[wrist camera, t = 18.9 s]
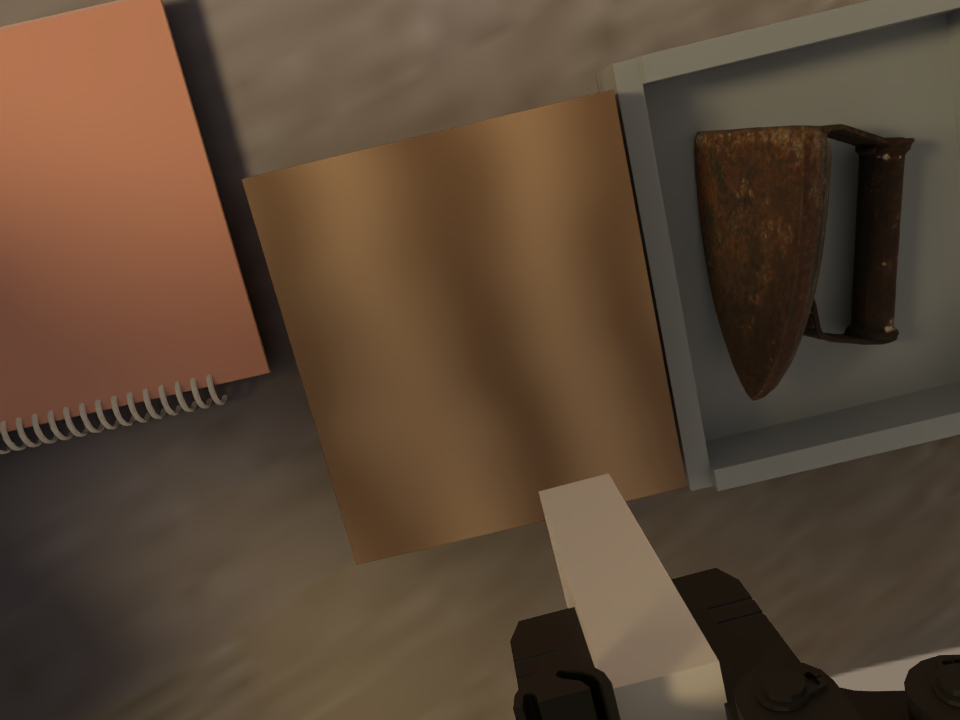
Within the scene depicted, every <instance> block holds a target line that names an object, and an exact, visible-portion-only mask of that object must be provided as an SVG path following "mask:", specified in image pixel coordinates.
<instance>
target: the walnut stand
mask: <svg viewBox="0 0 960 720" xmlns="http://www.w3.org/2000/svg"><path fill="white" fill-rule="evenodd" d="M242 182H243V186H244V189H245V192H246V196H247V199H248V202H249V206H250V209H251V213H252V216H253V219H254V223H255V226H256V229H257V233H258V236H259V239H260V243H261V246H262V249H263V253H264V256H265V260H266V263H267V266H268V270H269V273H270V276H271V280H272V283H273V286H274V290H275V293H276V296H277V300H278V303H279V306H280V310H281V313H282V317H283V320H284V323H285V327H286V330H287V333H288V337H289V340H290V343H291V347H292V350H293V353H294V357H295V360H296V363H297V367H298V370H299V374H300V377H301V380H302V384H303V387H304V390H305V394H306V397H307V400H308V404H309V407H310V410H311V414H312V417H313V420H314V424H315V427H316V431H317V434H318V437H319V441H320V444H321V447H322V451H323V454H324V457H325V461H326V464H327V467H328V471H329V474H330V478H331V481H332V484H333V488H334V491H335V494H336V498H337V501H338V504H339V508H340V511H341V514H342V518H343V521H344V524H345V528H346V531H347V535H348V538H349V541H350V545H351V548H352V551H353V555H354V558H355V561H356V565H358V564H363V563H367V562H371V561H375V560H380V559H384V558H388V557H392V556H396V555H401V554H405V553H409V552H413V551H418V550H422V549H426V548H430V547H435V546H439V545H443V544H447V543H452V542H456V541H460V540H464V539H468V538H473V537H477V536H481V535H485V534H490V533H494V532H498V531H502V530H507V529H511V528H515V527H519V526H524V525H528V524H532V523H536V522H540V521H545V516H544V512H543V508H542V504H541V500H540V496H539V491H542V490H546V489H550V488H554V487H558V486H562V485H566V484H569V483H573V482H577V481H581V480H585V479H589V478H593V477H596V476H600V475H604V474H608V473H609V475H610V477H611V478H612V480H613V482H614V483H615V485H616V487H617V488H618V490H619V492H620V494H621V495H622V497H623V499H624V500H625V501H629V500H634V499H638V498H642V497H646V496H651V495H655V494H659V493H663V492H668V491H672V490H676V489H680V488H684V487H687V485H686V480H685V474H684V469H683V464H682V458H681V453H680V447H679V442H678V436H677V431H676V426H675V420H674V415H673V409H672V404H671V398H670V393H669V388H668V382H667V377H666V371H665V366H664V360H663V355H662V350H661V344H660V339H659V333H658V328H657V322H656V317H655V312H654V306H653V301H652V295H651V290H650V285H649V279H648V274H647V268H646V263H645V257H644V252H643V247H642V241H641V236H640V230H639V225H638V219H637V214H636V209H635V203H634V198H633V192H632V187H631V181H630V176H629V171H628V165H627V160H626V154H625V149H624V143H623V138H622V133H621V127H620V122H619V116H618V111H617V106H616V100H615V95H614V89H613V90H609V91H605V92H600V93H596V94H592V95H588V96H584V97H580V98H576V99H571V100H567V101H563V102H559V103H555V104H551V105H547V106H542V107H538V108H534V109H530V110H526V111H522V112H518V113H513V114H509V115H505V116H501V117H497V118H493V119H489V120H484V121H480V122H476V123H472V124H468V125H464V126H460V127H455V128H451V129H447V130H443V131H439V132H435V133H431V134H426V135H422V136H418V137H414V138H410V139H406V140H402V141H397V142H393V143H389V144H385V145H381V146H377V147H373V148H369V149H364V150H360V151H356V152H352V153H348V154H344V155H340V156H335V157H331V158H327V159H323V160H319V161H315V162H311V163H306V164H302V165H298V166H294V167H290V168H286V169H282V170H277V171H273V172H269V173H265V174H261V175H257V176H253V177H248V178H244V179H242Z"/></svg>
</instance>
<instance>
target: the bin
mask: <svg viewBox="0 0 960 720" xmlns="http://www.w3.org/2000/svg"><path fill="white" fill-rule="evenodd" d="M596 76H597V81H598V86H599V91H600V92H605V91H609V90H613V89H614V95H615V100H616V106H617V111H618V116H619V122H620V127H621V133H622V138H623V143H624V149H625V154H626V160H627V165H628V171H629V176H630V181H631V187H632V192H633V198H634V203H635V209H636V214H637V219H638V225H639V230H640V236H641V241H642V247H643V252H644V257H645V263H646V268H647V274H648V279H649V285H650V290H651V295H652V301H653V306H654V312H655V317H656V322H657V328H658V333H659V339H660V344H661V350H662V355H663V360H664V366H665V371H666V377H667V382H668V388H669V393H670V398H671V404H672V409H673V415H674V420H675V426H676V431H677V436H678V442H679V447H680V453H681V458H682V464H683V469H684V474H685V480H686V485H687V487H688V488H689V490H690V491H695V490H699V489H703V488H708V487H712V486H714V488H715V489H716V490H717V491H722V490H727V489H731V488H735V487H739V486H744V485H748V484H752V483H756V482H761V481H765V480H769V479H773V478H777V477H782V476H786V475H790V474H794V473H799V472H803V471H807V470H811V469H816V468H820V467H824V466H828V465H833V464H837V463H841V462H845V461H850V460H854V459H858V458H862V457H866V456H871V455H875V454H879V453H883V452H888V451H892V450H896V449H900V448H905V447H909V446H913V445H917V444H922V443H926V442H930V441H934V440H939V439H943V438H947V437H951V436H955V435H960V0H869V1H865V2H861V3H857V4H852V5H848V6H844V7H840V8H836V9H832V10H828V11H823V12H819V13H815V14H811V15H807V16H803V17H799V18H794V19H790V20H786V21H782V22H778V23H774V24H770V25H766V26H761V27H757V28H753V29H749V30H745V31H741V32H737V33H732V34H728V35H724V36H720V37H716V38H712V39H708V40H704V41H699V42H695V43H691V44H687V45H683V46H679V47H675V48H670V49H666V50H662V51H658V52H654V53H650V54H646V55H642V56H640V57H638V58H634V59H629V60H625V61H621V62H617V63H613V64H611V65H609V66H607V67H606V68H604V69H602V70H601V71H599V72H597V73H596ZM834 124H844V125H848V126H851V127H854V128H857V129H860V130H863V131H866V132H869V133H872V134H875V135H878V136H881V137H884V138H890V137H904V138H914V139H915V142H913V143H912V146H911V149H910V150H909V151H908V152H907V153H906V155H905V164H904V177H903V193H902V208H901V219H900V240H899V253H898V267H897V280H896V301H895V315H894V327H895V328H896V329H898V331H899V335H898V336H897V337H898V338H897V340H895V341H893V342H891V343H888V344H883V345H861V344H851V343H836V342H829V341H825V340H821V339H816V338H813V337H808V336H803V337H802V339H801V342H800V345H799V347H798V350H797V352H796V355H795V357H794V359H793V361H792V363H791V365H790V367H789V369H788V370H787V372H786V373H785V375H784V376H783V378H782V379H781V381H780V382H779V384H778V386H777V387H776V388H775V389H774V390H772V391H770V393H769V394H768V395H767V396H765V397H763V398H761V399H759V400H755V401H753V400H751V399H750V398H749V396H748V395H747V393H746V392H745V390H744V388H743V386H742V384H741V382H740V380H739V378H738V376H737V374H736V371H735V369H734V367H733V364H732V362H731V359H730V356H729V353H728V350H727V347H726V344H725V341H724V338H723V335H722V332H721V328H720V325H719V322H718V318H717V314H716V310H715V306H714V302H713V298H712V293H711V289H710V284H709V278H708V272H707V266H706V261H705V255H704V248H703V240H702V234H701V227H700V215H699V207H698V198H697V185H696V177H695V161H694V142H695V136H696V134H697V132H701V131H712V130H731V129H742V128H755V127H774V126H791V125H809V126H824V125H834ZM827 139H828V142H829V143H830V148H831V155H832V160H831V176H830V190H829V203H828V215H827V224H826V233H825V241H824V248H823V255H822V261H821V267H820V273H819V278H818V283H817V287H816V292H815V296H814V299H815V302H816V305H817V310H818V316H819V321H820V327H821V329H822V332H823V333H831V334H843V333H844V332H845V329H846V328H847V327H848V326H850V325H851V306H852V289H853V267H854V247H855V228H856V208H857V191H858V169H859V155H858V154H857V153H856V152H855V146H853V145H850V144H847V143H843V142H840V141H837V140H834V139H830V138H827Z"/></svg>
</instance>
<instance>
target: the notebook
mask: <svg viewBox="0 0 960 720" xmlns="http://www.w3.org/2000/svg"><path fill="white" fill-rule="evenodd" d="M270 372H271V371H270V368H269V364H268V361H267V357H266V354H265V350H264V347H263V344H262V340H261V337H260V333H259V330H258V327H257V323H256V320H255V316H254V313H253V309H252V306H251V303H250V299H249V296H248V292H247V289H246V286H245V282H244V279H243V275H242V272H241V268H240V265H239V262H238V258H237V255H236V251H235V248H234V244H233V241H232V238H231V234H230V231H229V227H228V224H227V221H226V217H225V214H224V210H223V207H222V203H221V200H220V197H219V193H218V190H217V186H216V183H215V180H214V176H213V173H212V169H211V166H210V162H209V159H208V156H207V152H206V149H205V145H204V142H203V138H202V135H201V132H200V128H199V125H198V121H197V118H196V115H195V111H194V108H193V104H192V101H191V97H190V94H189V91H188V87H187V84H186V80H185V77H184V73H183V70H182V67H181V63H180V60H179V56H178V53H177V50H176V46H175V43H174V39H173V36H172V32H171V29H170V26H169V22H168V19H167V15H166V12H165V9H164V5H163V2H162V0H117V1H113V2H109V3H104V4H100V5H96V6H91V7H87V8H82V9H78V10H74V11H69V12H65V13H61V14H56V15H52V16H47V17H43V18H39V19H34V20H30V21H25V22H21V23H17V24H12V25H8V26H4V27H0V433H1V434H2V437H3V440H4V442H5V443H6V444H7V446H8V447H7V449H6V450H4V451H3V450H1V449H0V454H6V453H9V452H10V451H11V450H17V451H20V450H23V449H25V448H26V447H27V446H29V447H37V446H40V445H41V444H42V442H44V443H54V442H56V441H57V440H58V438H59V439H60V440H68V439H71V438H72V437H73V435H75V436H79V437H82V436H85V435H86V434H87V433H88V432H89V431H90V432H92V433H100V432H101V431H103V430H104V428H106V429H109V430H110V429H116V428H117V427H118V426H119V425H120V424H122V425H124V426H131V425H132V424H133V423H134V421H135V420H137V421H139V422H141V423H142V422H147V421H148V419H149V418H150V417H151V416H152V417H153V418H155V419H162V418H163V417H164V415H165V414H166V412H167V413H168V414H169V415H178V414H179V412H180V411H181V409H183V410H185V411H186V412H193V411H194V410H195V409H196V407H197V404H198V405H199V407H201V408H209V407H210V405H211V404H212V399H213V401H214V402H215V403H216V404H218V405H224V404H225V402H226V401H227V397H228V395H223V396H222V400H219V399H218V397H217V395H216V392H215V389H214V385H218V384H222V383H227V382H231V381H235V380H240V379H244V378H249V377H253V376H258V375H262V374H266V373H270ZM204 387H208V390H209V393H210V395H211V397H212V398H210V399H207V402H206V404H204V403H203V402H202V400H201V398H200V395H199V392H198V389H200V388H204ZM191 390H192V393H193V396H194V398H195V400H196V401H194V402H192V405H191V408H189V407H188V406H187V404H186V402H185V400H184V398H183V395H182V392H187V391H191ZM173 394H176V396H177V399H178V402H179V404H180V405H177V407H176V410H175V412H174V411H173V410H172V409H171V408H170V407H169V404H168V402H167V399H166V396H169V395H173ZM155 398H160V399H161V402H162V405H163V407H164V409H162V410H161V413H160V415H158V414H156V412H155V410H154V409H153V407H152V405H151V401H150V400H151V399H155ZM142 401H144V403H145V406H146V408H147V410H148V412H147V413H146V416H145V418H144V419H143V418H141V417H140V416H139V415H138V413H137V411H136V408H135V406H134V403H138V402H142ZM124 405H128V406H129V409H130V412H131V413H132V415H133V416H131V418H130V421H129V422H126V421H125V420H124V419H123V418H122V416H121V414H120V411H119V409H118V407H120V406H124ZM111 408H112V409H113V412H114V415H115V417H116V418H117V419H116V421H115V423H114V426H112V425H110V424H109V423H108V422H107V421H106V419H105V417H104V415H103V412H102V410H107V409H111ZM93 412H96V413H97V416H98V418H99V420H100V422H101V423H100V426H99V428H98V429H95V428H93V426H92V425H91V423H90V421H89V420H88V418H87V414H89V413H93ZM76 416H81V418H82V421H83V423H84V425H85V429H84V431H83V433H80V432H79V431H78V430H77V429H76V428H75V427H74V425H73V422H72V420H71V417H76ZM62 419H65V422H66V425H67V427H68V429H69V430H70V432H69V434H68V436H63V435H62V434H61V433H60V432H59V430H58V428H57V426H56V423H55V421H58V420H62ZM44 423H49V425H50V428H51V431H52V432H53V433H54V434H55V435H54V437H53V439H52V440H48V439H47V438H46V437H45V436H44V435H43V433H42V431H41V429H40V427H39V425H40V424H44ZM31 426H33V428H34V431H35V434H36V435H37V437H38V438H39V440H38V442H37V443H32V442H31V441H30V439H29V438H27V436H26V434H25V432H24V430H23V428H27V427H31ZM13 430H17V431H18V434H19V437H20V439H21V440H22V441H23V442H24V443H23V444H22V446H21V447H18V446H16V445H15V443H14V442H11V439H10V437H9V435H8V433H7V432H9V431H13Z"/></svg>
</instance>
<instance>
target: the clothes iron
mask: <svg viewBox="0 0 960 720" xmlns="http://www.w3.org/2000/svg"><path fill="white" fill-rule="evenodd" d="M827 138H830V139H834V140H837V141H840V142H843V143H847V144H850V145H853V146H855V152H856V153H857V154H858V155H859V169H858V191H857V208H856V228H855V247H854V267H853V289H852V306H851V325H850V326H848V327H847V328H846V329H845V332H844V333H843V334H831V333H823V332H822V329H821V327H820V321H819V316H818V310H817V305H816V302H815V299H814V296H815V292H816V287H817V283H818V278H819V273H820V267H821V261H822V255H823V248H824V241H825V233H826V224H827V215H828V203H829V190H830V176H831V160H832V155H831V148H830V143H829V142H828V139H827ZM913 142H915V139H914V138H904V137H890V138H884V137H881V136H878V135H875V134H872V133H869V132H866V131H863V130H860V129H857V128H854V127H851V126H848V125H844V124H834V125H824V126H809V125H791V126H774V127H755V128H742V129H731V130H712V131H701V132H697V134H696V136H695V142H694V161H695V177H696V185H697V198H698V207H699V215H700V227H701V234H702V240H703V248H704V255H705V261H706V266H707V272H708V278H709V284H710V289H711V293H712V298H713V302H714V306H715V310H716V314H717V318H718V322H719V325H720V328H721V332H722V335H723V338H724V341H725V344H726V347H727V350H728V353H729V356H730V359H731V362H732V364H733V367H734V369H735V371H736V374H737V376H738V378H739V380H740V382H741V384H742V386H743V388H744V390H745V392H746V393H747V395H748V396H749V398H750V399H751V400H753V401H755V400H759V399H761V398H763V397H765V396H767V395H768V394H769V393H770V391H772V390H774V389H775V388H776V387H777V386H778V384H779V382H780V381H781V379H782V378H783V376H784V375H785V373H786V372H787V370H788V369H789V367H790V365H791V363H792V361H793V359H794V357H795V355H796V352H797V350H798V347H799V345H800V342H801V339H802V337H803V336H808V337H813V338H816V339H821V340H825V341H829V342H836V343H851V344H861V345H883V344H888V343H891V342H893V341H895V340H897V338H898V337H897V336H898V335H899V331H898V329H896V328H895V327H894V315H895V301H896V280H897V267H898V253H899V240H900V219H901V208H902V193H903V177H904V164H905V155H906V153H907V152H908V151H909V150H910V149H911V146H912V143H913Z"/></svg>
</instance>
